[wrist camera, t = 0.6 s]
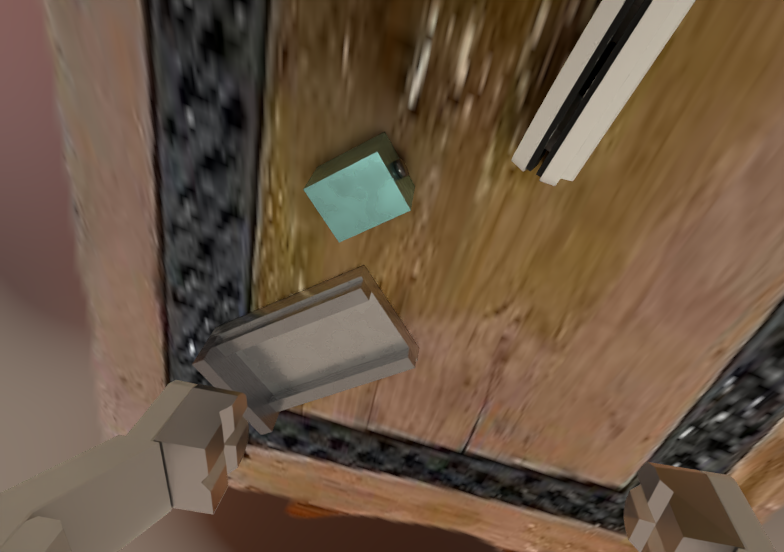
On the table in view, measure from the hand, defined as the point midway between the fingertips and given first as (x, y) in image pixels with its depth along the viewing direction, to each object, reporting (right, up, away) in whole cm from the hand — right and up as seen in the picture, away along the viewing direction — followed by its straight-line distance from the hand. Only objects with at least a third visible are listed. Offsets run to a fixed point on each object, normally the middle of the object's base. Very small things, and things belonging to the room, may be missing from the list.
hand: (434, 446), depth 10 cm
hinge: (+14, +20, +27) cm, 36 cm away
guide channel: (-10, -3, +45) cm, 46 cm away
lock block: (-3, +12, +34) cm, 36 cm away
